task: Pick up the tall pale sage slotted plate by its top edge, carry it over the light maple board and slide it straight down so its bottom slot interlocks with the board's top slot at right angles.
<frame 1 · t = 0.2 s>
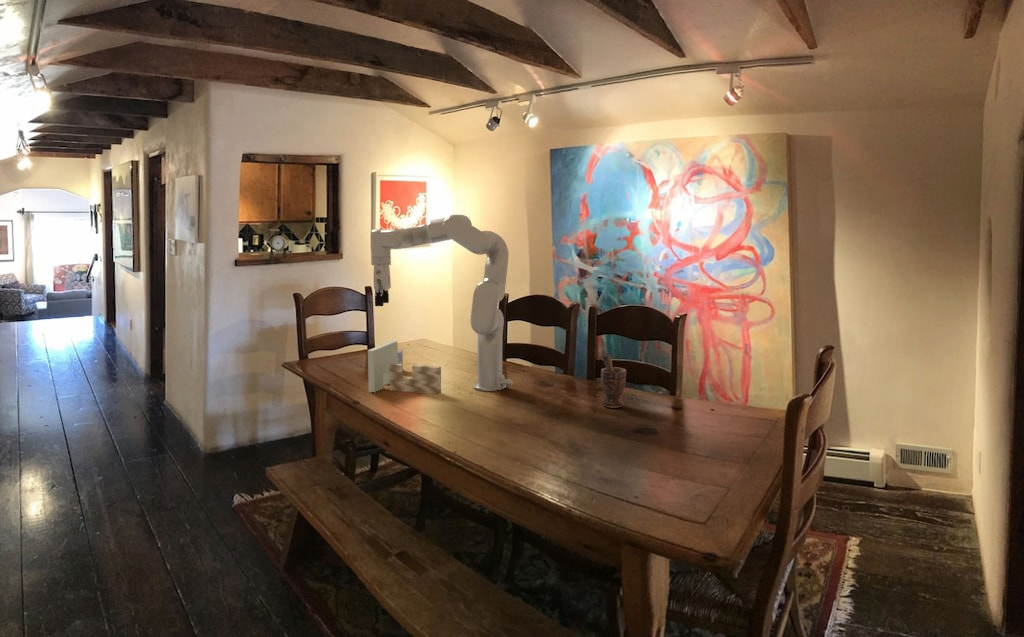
hand: (382, 304, 263), 31 cm above the table, tool pointing down, fingers open, 9 cm apart
medicine box: (392, 371, 284), on the table
sage plate: (384, 385, 259), on the table
maple board: (415, 391, 251), on the table
mortar and pestle: (612, 408, 231), on the table
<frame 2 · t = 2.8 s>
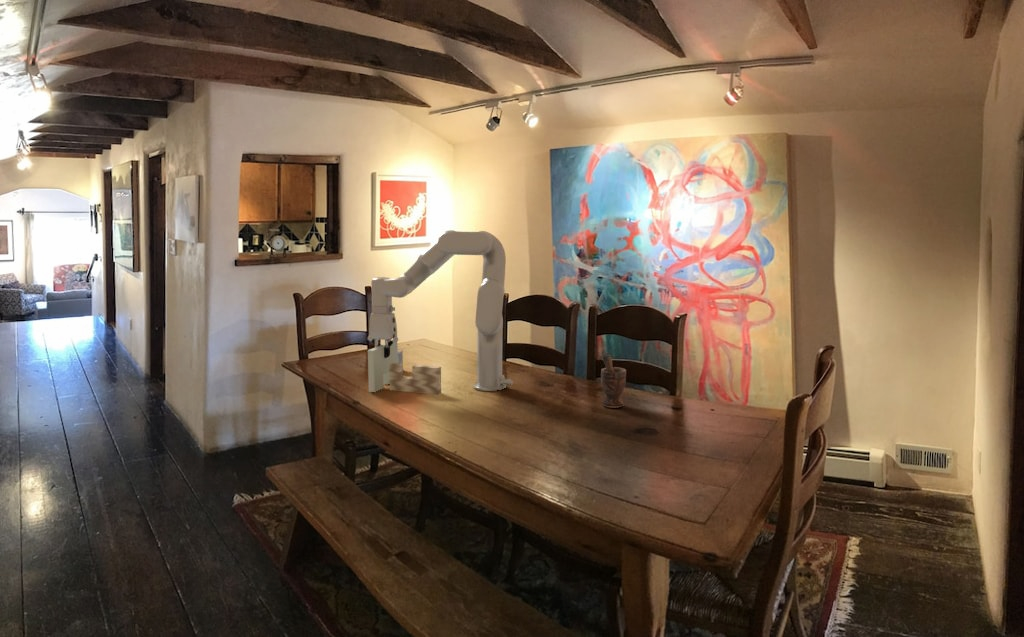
hand: (383, 356, 257), 12 cm above the table, tool pointing down, fingers closed on sage plate, 2 cm apart
sage plate: (384, 385, 259), on the table, touching gripper
everything else where it was.
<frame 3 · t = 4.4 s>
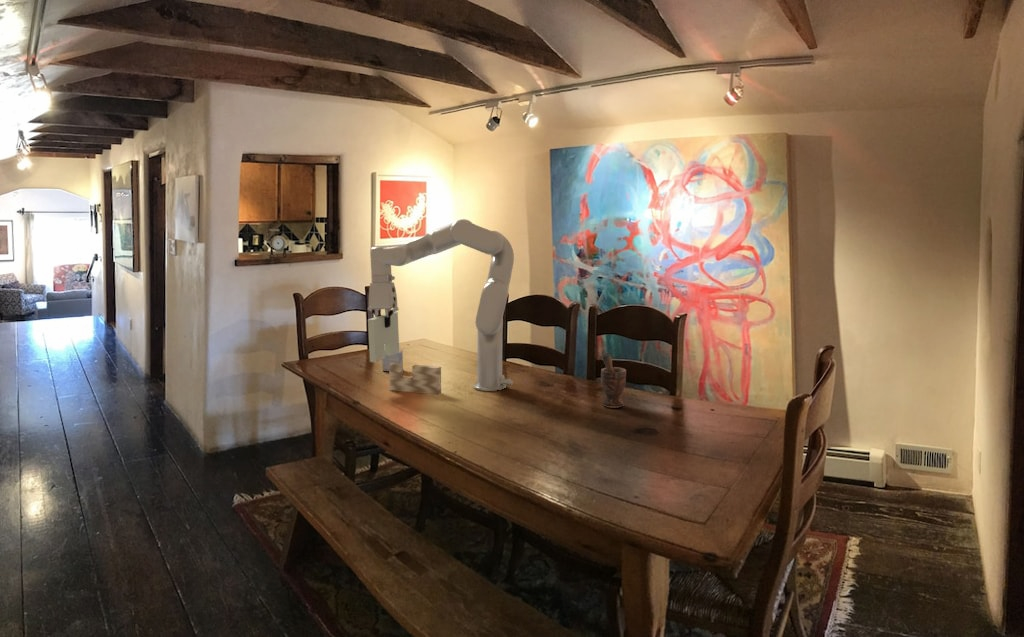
hand: (383, 326, 255), 23 cm above the table, tool pointing down, fingers closed on sage plate, 2 cm apart
sage plate: (385, 356, 257), point 12 cm above the table, touching gripper
everything else where it was.
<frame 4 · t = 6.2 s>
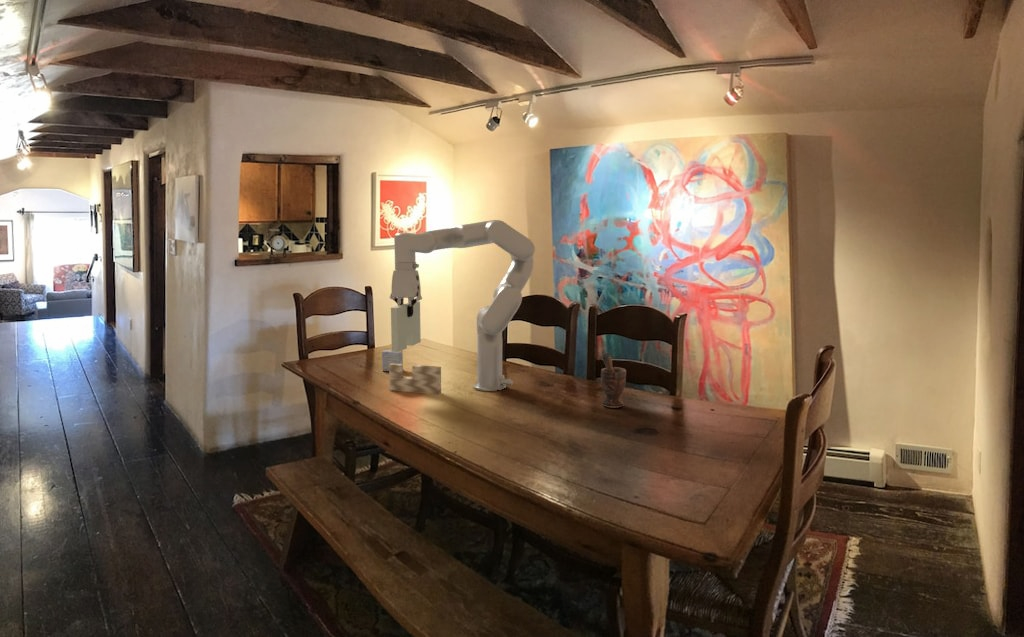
hand: (406, 315, 247), 29 cm above the table, tool pointing down, fingers closed on sage plate, 2 cm apart
sage plate: (406, 346, 249), point 17 cm above the table, touching gripper
everything else where it was.
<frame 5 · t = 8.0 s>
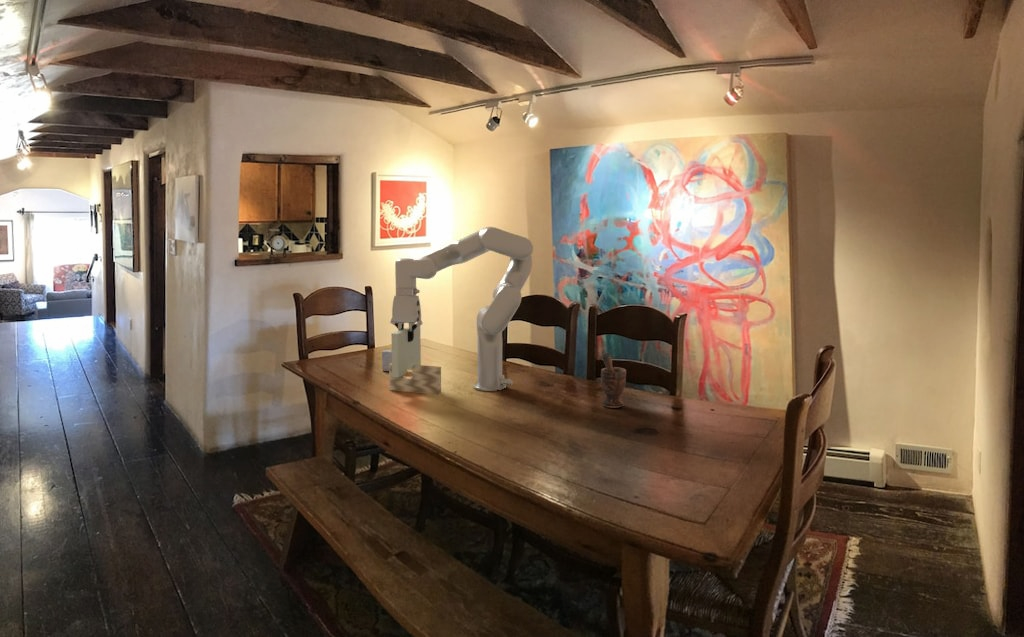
hand: (406, 340, 249), 19 cm above the table, tool pointing down, fingers closed on sage plate, 2 cm apart
sage plate: (407, 371, 250), point 8 cm above the table, touching gripper
everything else where it was.
when the fingers open (13 cm above the table, at t = 9.6 s): sage plate drops 1 cm, on the table.
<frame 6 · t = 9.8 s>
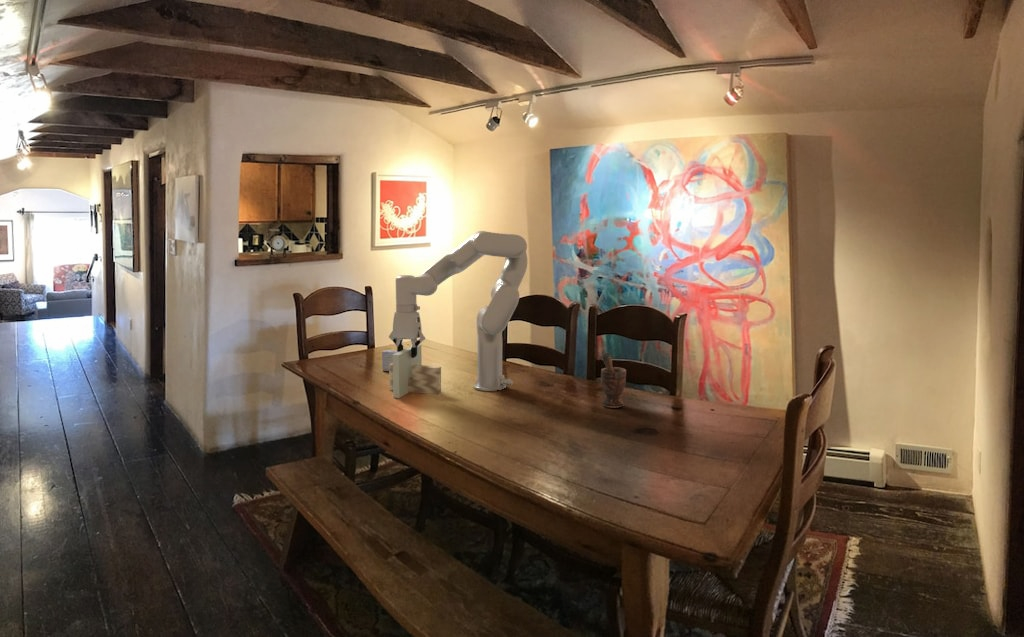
hand: (407, 356, 249), 13 cm above the table, tool pointing down, fingers open, 4 cm apart
sage plate: (408, 390, 252), on the table
everything else where it was.
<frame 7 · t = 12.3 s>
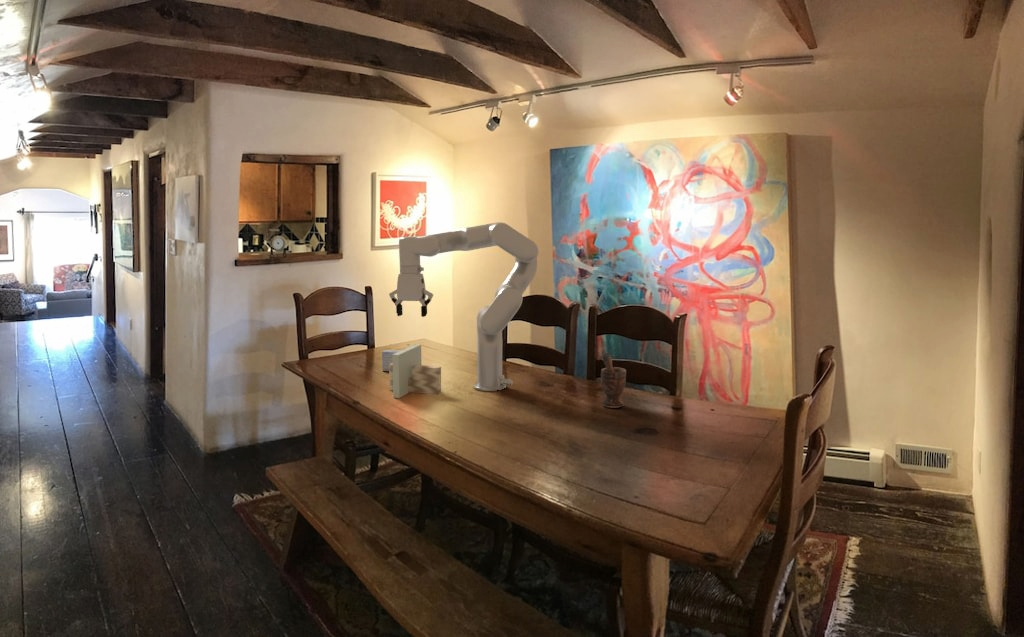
hand: (411, 315, 249), 28 cm above the table, tool pointing down, fingers open, 9 cm apart
nothing on the table moved.
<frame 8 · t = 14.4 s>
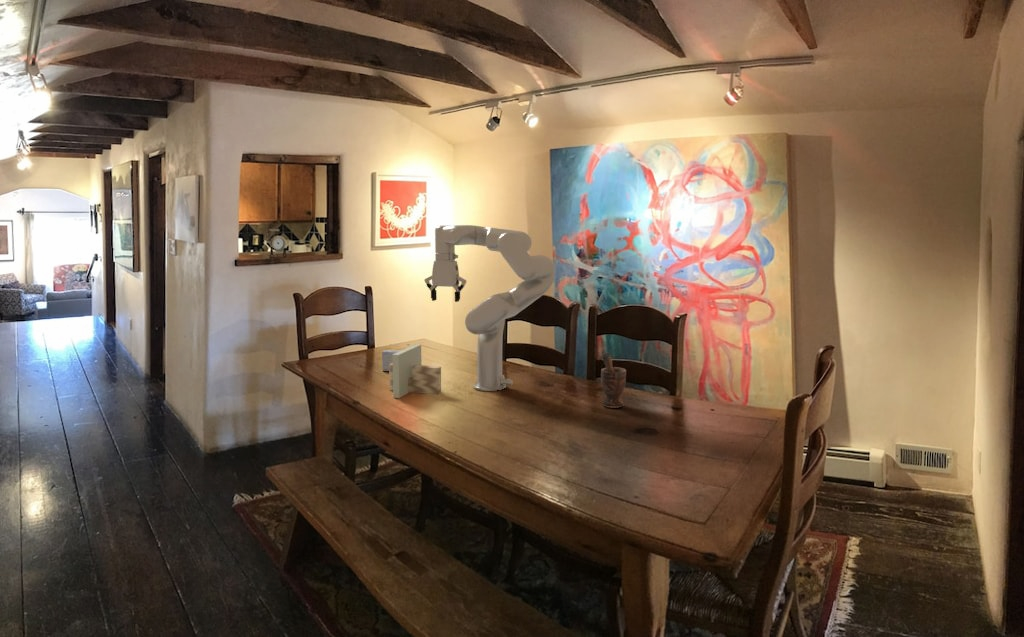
hand: (445, 300, 262), 32 cm above the table, tool pointing down, fingers open, 9 cm apart
nothing on the table moved.
at the end: sage plate 0.0 cm from the target spot on the maple board, point 0.0 cm above the maple board's base; sage plate tilted 0°; the gripper is holding nothing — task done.
